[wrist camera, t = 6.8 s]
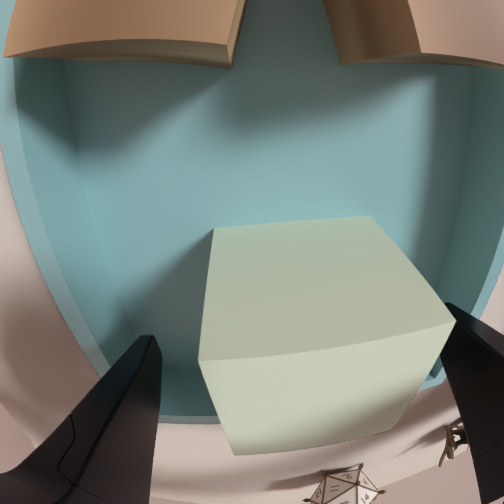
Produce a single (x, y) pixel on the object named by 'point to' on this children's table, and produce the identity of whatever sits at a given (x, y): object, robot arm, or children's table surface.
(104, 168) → the tray
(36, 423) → the children's table surface
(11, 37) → the walnut block
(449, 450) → the eagle figurine
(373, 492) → the game die
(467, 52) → the walnut block
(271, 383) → the sage block
